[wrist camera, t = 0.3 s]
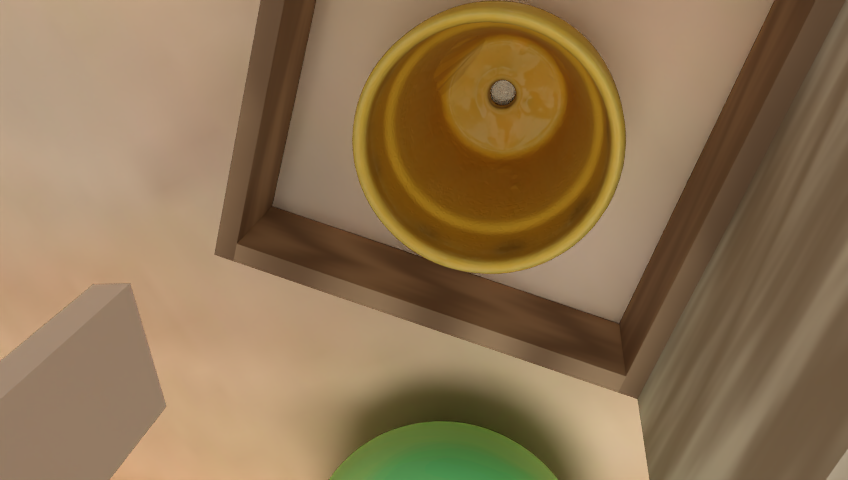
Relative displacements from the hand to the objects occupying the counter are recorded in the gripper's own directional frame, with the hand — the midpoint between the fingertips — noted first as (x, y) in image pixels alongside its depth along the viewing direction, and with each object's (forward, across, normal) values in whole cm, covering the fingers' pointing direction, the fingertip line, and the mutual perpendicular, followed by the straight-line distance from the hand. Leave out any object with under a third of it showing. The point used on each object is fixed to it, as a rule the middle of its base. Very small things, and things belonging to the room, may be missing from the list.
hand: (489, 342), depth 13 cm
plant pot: (+26, -2, -2) cm, 26 cm away
